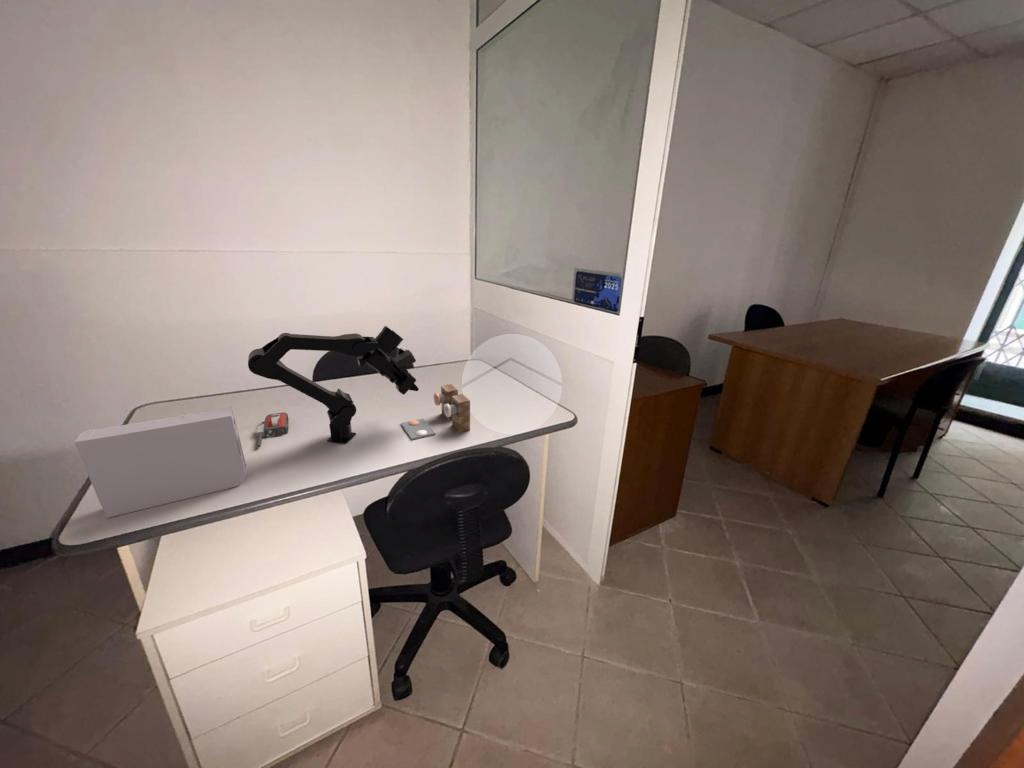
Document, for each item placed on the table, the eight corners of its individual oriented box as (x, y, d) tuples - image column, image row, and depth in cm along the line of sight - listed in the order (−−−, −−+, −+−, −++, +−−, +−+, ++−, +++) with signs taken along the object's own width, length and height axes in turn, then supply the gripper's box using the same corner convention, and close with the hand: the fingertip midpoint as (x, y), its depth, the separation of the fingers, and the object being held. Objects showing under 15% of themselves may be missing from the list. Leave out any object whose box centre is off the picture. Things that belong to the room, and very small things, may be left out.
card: (411, 440, 127) (411, 438, 127) (400, 424, 137) (400, 422, 137) (435, 434, 131) (435, 432, 131) (423, 419, 141) (423, 417, 140)
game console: (112, 504, 94) (82, 430, 87) (248, 472, 108) (232, 406, 100) (106, 518, 90) (73, 442, 82) (248, 484, 103) (231, 415, 96)
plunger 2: (449, 419, 131) (448, 407, 129) (444, 413, 134) (443, 402, 132) (467, 415, 134) (467, 403, 132) (462, 410, 137) (462, 398, 136)
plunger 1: (438, 407, 138) (437, 396, 137) (433, 402, 142) (433, 391, 140) (455, 404, 142) (455, 392, 140) (451, 399, 145) (451, 388, 144)
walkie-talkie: (260, 422, 135) (255, 451, 118) (257, 410, 133) (252, 438, 117) (289, 418, 139) (288, 445, 122) (287, 406, 137) (286, 432, 120)
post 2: (459, 432, 133) (458, 402, 129) (452, 424, 138) (451, 396, 134) (470, 429, 135) (470, 400, 131) (462, 422, 140) (462, 394, 136)
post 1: (447, 420, 141) (447, 391, 137) (441, 413, 146) (440, 385, 142) (458, 417, 143) (458, 389, 139) (451, 411, 148) (451, 384, 144)
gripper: (407, 352, 118) (443, 380, 128) (391, 336, 133) (424, 363, 143) (383, 380, 117) (420, 407, 127) (369, 362, 132) (403, 387, 142)
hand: (417, 389), depth 135 cm, fingers closed
